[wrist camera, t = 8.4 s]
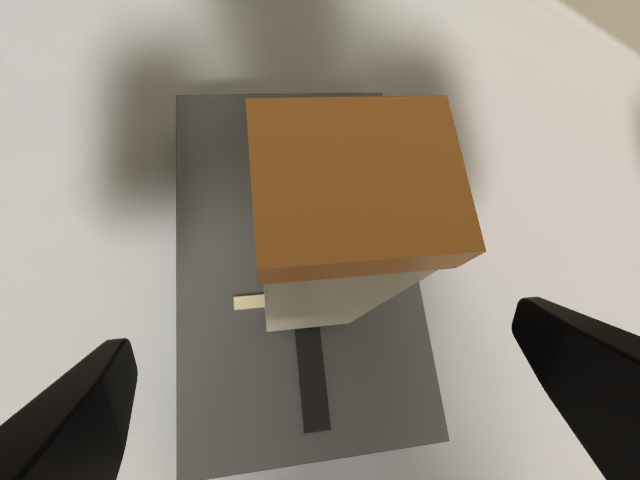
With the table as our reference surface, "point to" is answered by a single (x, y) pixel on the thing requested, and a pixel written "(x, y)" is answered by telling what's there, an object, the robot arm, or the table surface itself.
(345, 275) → the fader knob
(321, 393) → the console
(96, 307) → the table surface
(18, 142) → the table surface
